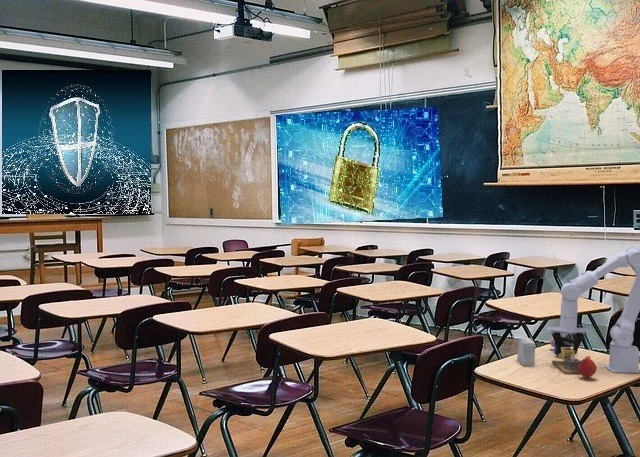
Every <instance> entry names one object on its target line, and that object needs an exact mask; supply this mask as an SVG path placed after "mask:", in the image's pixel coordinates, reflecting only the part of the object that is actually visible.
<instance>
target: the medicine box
mask: <svg viewBox="0 0 640 457" xmlns="http://www.w3.org/2000/svg"><path fill="white" fill-rule="evenodd" d="M535 357H536V343H535V342H534V341H533V339H531V338H530V337H518V338H517V359H516V360H517V361H518V362H519V363H520V364H521V366H523V367H535V362H536V361H535V359H536V358H535Z"/></svg>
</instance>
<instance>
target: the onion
mask: <svg viewBox="0 0 640 457" xmlns="http://www.w3.org/2000/svg"><path fill="white" fill-rule="evenodd" d="M578 371H579V373H580V374H581V376H582V377H583V378H584V379H587V380H588V379H589V378H592V376H594V375H595V374H596V372H597V365H596V363H595V362H594V360H593V359H591V356H590V355H587V356H586V357H585V358H583V359H582V360H580V363H579V366H578Z"/></svg>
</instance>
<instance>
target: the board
mask: <svg viewBox="0 0 640 457" xmlns="http://www.w3.org/2000/svg"><path fill="white" fill-rule="evenodd" d="M580 361H581V360H580V359H579V358H576V355H575V356H571V358H566V359H565V360H552V361H551V364H552V365H553V366H554V367H556V368H557V369H558V370H559V371H560V372H561V373H562V374H564V375H581V374H580V373H579V371H578V366H579V363H580ZM581 376H582V375H581Z"/></svg>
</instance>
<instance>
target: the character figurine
mask: <svg viewBox="0 0 640 457" xmlns="http://www.w3.org/2000/svg"><path fill="white" fill-rule="evenodd" d="M549 345H550V346H551V347H553V348H554V354H555V355H557V354H558V353H557V349H556V344H555V341H554V339H553V336H552V335H551V336H550V338H549ZM561 347H569V348H573V338H571V337H570V335H569V334H565V336H562V341H561Z"/></svg>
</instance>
